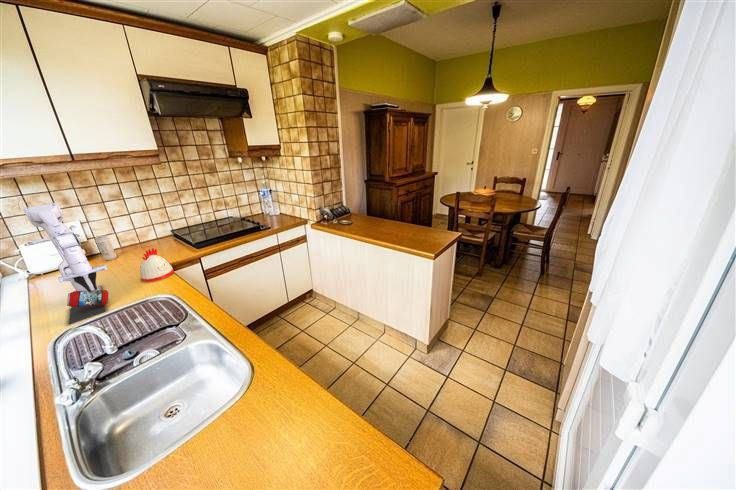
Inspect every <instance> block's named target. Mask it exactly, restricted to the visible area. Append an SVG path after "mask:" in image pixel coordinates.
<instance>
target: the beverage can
mask: <svg viewBox="0 0 736 490" xmlns="http://www.w3.org/2000/svg"><path fill="white" fill-rule="evenodd" d="M109 299H110V292H109V291H108V290H107V289H100V290H91V292H88V291H75V290H74V291H71V292H68V294H67V303H66V306H67V307H70V308H72V307H87V306H101V305H105V306H106V305H107V304H108V303H109Z"/></svg>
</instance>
